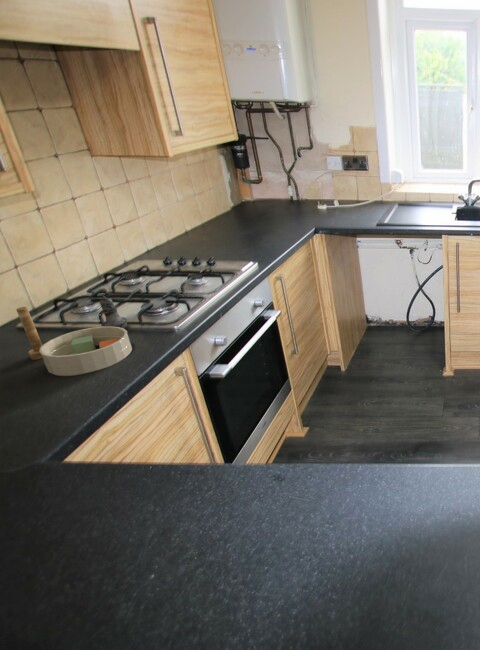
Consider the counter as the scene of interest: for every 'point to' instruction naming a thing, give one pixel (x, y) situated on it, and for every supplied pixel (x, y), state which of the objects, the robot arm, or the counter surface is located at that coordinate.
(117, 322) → the dark grey figurine
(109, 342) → the block orange
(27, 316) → the muddler
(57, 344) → the bowl
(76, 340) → the block green
